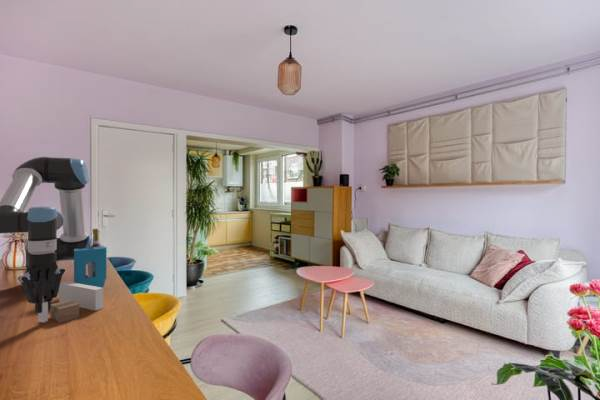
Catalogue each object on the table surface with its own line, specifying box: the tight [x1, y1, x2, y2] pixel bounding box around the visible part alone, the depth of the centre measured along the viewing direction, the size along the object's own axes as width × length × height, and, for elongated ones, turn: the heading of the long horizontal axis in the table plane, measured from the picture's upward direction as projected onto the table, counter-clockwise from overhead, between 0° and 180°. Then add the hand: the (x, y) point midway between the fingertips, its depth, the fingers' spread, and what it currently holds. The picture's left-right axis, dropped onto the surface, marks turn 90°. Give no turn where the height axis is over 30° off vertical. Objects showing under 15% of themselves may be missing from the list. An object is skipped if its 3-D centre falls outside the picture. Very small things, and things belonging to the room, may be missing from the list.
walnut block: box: [49, 300, 80, 324], centre depth 110 cm, size 8×6×5 cm
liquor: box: [87, 228, 105, 277], centre depth 145 cm, size 7×7×28 cm
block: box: [73, 246, 108, 289], centre depth 137 cm, size 12×5×20 cm, turn 126°
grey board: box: [58, 280, 104, 312], centre depth 122 cm, size 22×3×8 cm, turn 68°
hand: (43, 320), depth 104 cm, fingers closed
